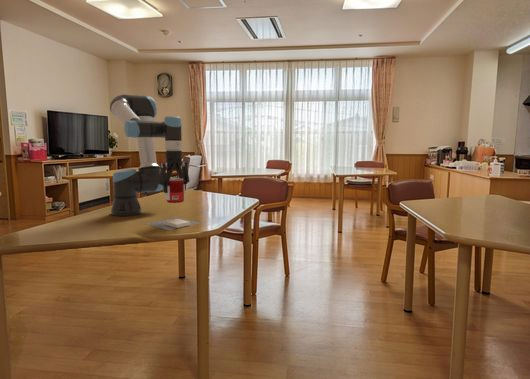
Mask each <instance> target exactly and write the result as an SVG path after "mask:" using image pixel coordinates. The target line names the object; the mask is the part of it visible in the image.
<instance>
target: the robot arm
mask: <svg viewBox="0 0 530 379" xmlns="http://www.w3.org/2000/svg"><path fill="white" fill-rule="evenodd" d="M109 109H110V112H111V114H112V116H114V117H115V118H117V119H119V121H120V122H121V123H122V124H123V126H124V133H125V137H127V138H133V139H135V138H136V139H137V144H138V145H137V146H138V152H139V153H138V155H139V162H140V163H139V164H140V166H139V167H138V169H136V168H126V169H120V170H117V171H115V172H113V174H112V187H113V188H112V189H113V202H112V205H111V209H110V214H111V216H114V217H115V216H116V217H128V216H135V215H140V214H142V207H141V204H140V202H139V199H138V194H142V193H151V192H152V193H155V192H161V191H163V194H164V200H165V201H167V200H170V188H169V186H168V183H169V180H170V178H172V174H173V172H174V171H175V172H176V173H177V175H178V178H183V181H184V199H185V198H186V191H187V185H188V183H190V177H189V171H188V162H186V161H183V160H182V159H183V151H182V149H183V141H182V140H183V139H182V126H183V125H182V119H181V117H180V116H176V115H175V116H174V115H172V116H171V115H170V116H169V115H168V116H164V119H163V121H156V120H155V118H156V116H157V111H158V109H157V104H156V100H154V98H153V97H152V96H147V95H138V94H136V95H135V94H120V95H117V96H115V97H114V98H113V99H112V100H111V102H110V104H109ZM154 120H155V121H154ZM155 138H161V139H164V143H165V144H164V148H165V152H164V153H165V159H166V160H165V162H161V163H160V164H158V162H157V155H156V154H157V153H156V147H155V146H156V145H155ZM137 170H138V171H137Z"/></svg>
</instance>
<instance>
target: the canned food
mask: <svg viewBox="0 0 530 379" xmlns="http://www.w3.org/2000/svg"><path fill="white" fill-rule="evenodd" d="M168 186H169V188H170V200H166V202H167V203H169V204H178V203H183V202H184V201H185V198H184V181H183V178H179V177H170V180H169V183H168Z"/></svg>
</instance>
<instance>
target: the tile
mask: <svg viewBox="0 0 530 379" xmlns="http://www.w3.org/2000/svg"><path fill="white" fill-rule="evenodd" d="M165 225H168V226H171V227H175V228H177V229H181V228H180V227H182V228H185V227H184V226H186V227H189V225H190V222H188V221H184V220H180V219H175V220H170V221H165Z"/></svg>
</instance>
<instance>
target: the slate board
mask: <svg viewBox="0 0 530 379" xmlns="http://www.w3.org/2000/svg"><path fill="white" fill-rule="evenodd" d="M175 219H180V220H184V221H188V222H190V225H189V226H190V227H191V226H193V225H194V226H195V225H199V224H201V222H198V221H194V220H189V219H185V218H182V217H174V218H169V219H164V220H158V221H154V222H153V221H152V222H147V223H146V225H147V226H148V225H149V226H151V227H154V228H158V229H162V230H165V231H172V230H177V229H178V228H175V227H171V226H168V225H165V221H170V220H175ZM189 226H188V227H189ZM186 227H187V226H184V227H180V228H179V229H181V228H186Z"/></svg>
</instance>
